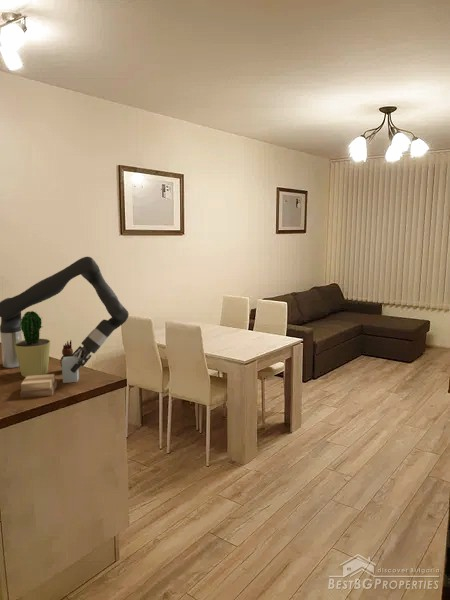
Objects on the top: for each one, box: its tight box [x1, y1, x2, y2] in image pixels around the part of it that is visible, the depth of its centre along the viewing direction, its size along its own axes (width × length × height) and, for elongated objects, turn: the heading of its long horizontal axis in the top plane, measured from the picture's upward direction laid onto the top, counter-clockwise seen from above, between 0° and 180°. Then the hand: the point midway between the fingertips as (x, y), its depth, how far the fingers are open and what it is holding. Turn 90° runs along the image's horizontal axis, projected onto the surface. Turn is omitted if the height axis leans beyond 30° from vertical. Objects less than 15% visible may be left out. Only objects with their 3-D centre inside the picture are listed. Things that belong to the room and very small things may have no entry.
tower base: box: [19, 379, 58, 398], centre depth 188 cm, size 12×12×3 cm
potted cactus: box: [14, 310, 51, 378], centre depth 209 cm, size 15×15×30 cm
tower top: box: [20, 373, 56, 391], centre depth 188 cm, size 11×11×3 cm
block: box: [61, 356, 80, 384], centre depth 201 cm, size 6×6×10 cm
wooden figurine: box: [59, 339, 74, 368], centre depth 214 cm, size 7×6×15 cm
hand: (69, 369), depth 201 cm, fingers open, 8 cm apart
